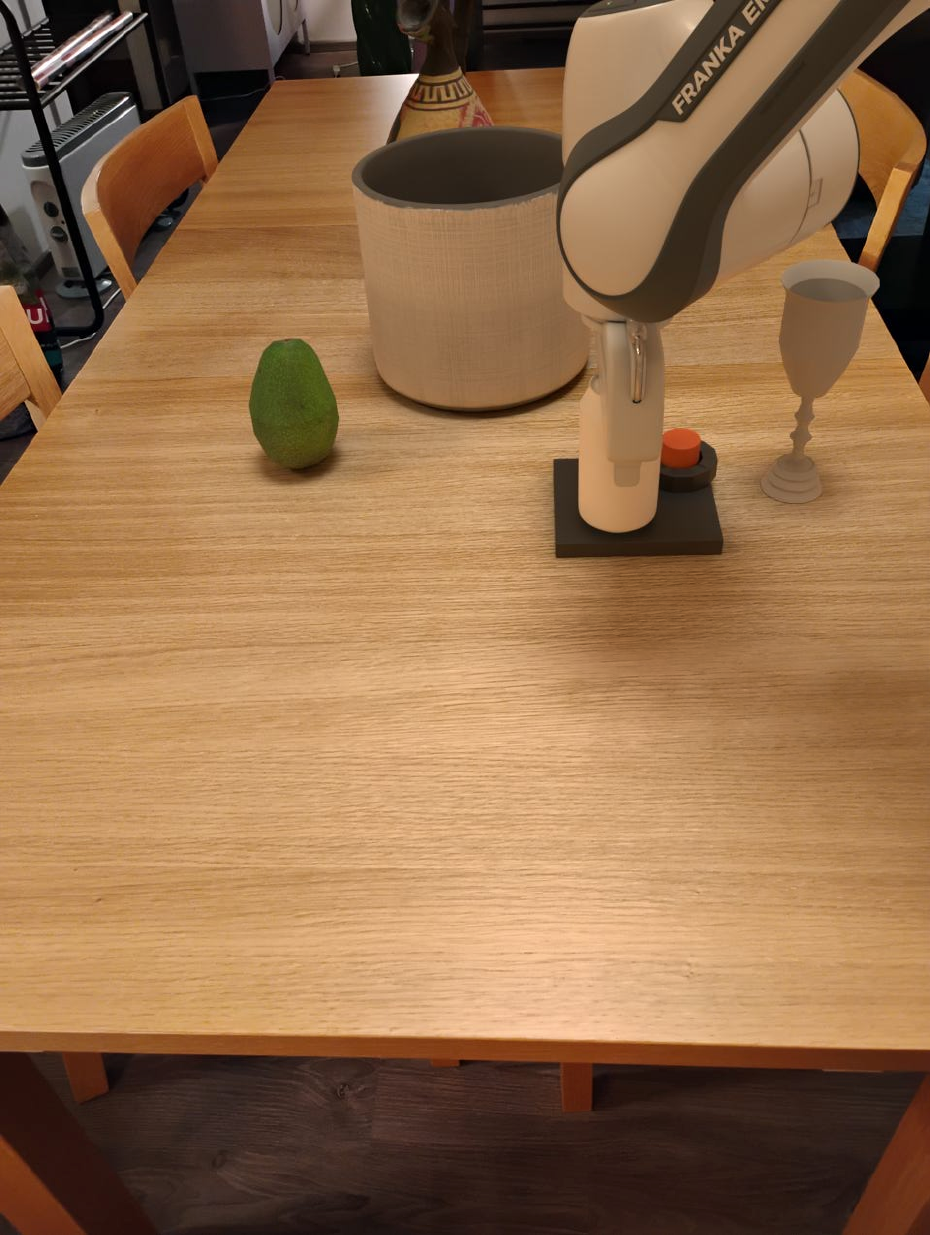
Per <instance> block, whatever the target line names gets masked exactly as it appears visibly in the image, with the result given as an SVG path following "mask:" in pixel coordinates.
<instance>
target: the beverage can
mask: <svg viewBox="0 0 930 1235" xmlns="http://www.w3.org/2000/svg"><path fill="white" fill-rule="evenodd" d="M665 405H666V404H664V408H666V406H665ZM578 409H579V410H578V413H579V414H578V415H579V416H578V418H579V419H578V422H579V423H578V458H579V512H580V515H581V517H582V518H583V519H584V520H585V521H586V522H587V523H588V524H590V525H591V526H593V527H595V528H598V529H601V530H603V531H607V532H612V533H623V532H628V531H632V530H636V529H639V528H641V527H643V526H645V525H646V524H648V523H649V522H650V521H651V520H652V519H653V517H654V516H655V513H656V508H657V498H658V486H659V473H660V460H661V453H660V455H659V457H658V459H657V460H655V461H651V462H642V463H641V466H640V478H639V483H638V484H637V485H636V486H633V487H618V486H616V485H615V483H614V474H613V466H614V462H611V461H609V460H608V459H607V456H606V451H605V442H604V432H603V421H602V410H601V400H600V389H599V379H598V372H596V373H595V374H593V375H592V376H591V377H590V379H589V381H588V387H587V389H586V390H585V392H584V394H583V395H582V397H581V399H580V401H579V408H578Z"/></svg>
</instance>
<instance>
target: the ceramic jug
mask: <svg viewBox="0 0 930 1235" xmlns="http://www.w3.org/2000/svg"><path fill="white" fill-rule="evenodd" d="M474 1H475V0H454V3H453V4H454V6H453V11H451V0H400V2H399V3H398V6H397V8H396V13H395V21H396V25H397V27H398V29H399V31H400V32H401V33H402V34H404V35H406V36H409V37H411V38H414V39H416V40H418V41H421V42H423V43H424V44H425V47H426V48H425V49H426V54H425V58H424V60H423V62H422V65H421V66H420V68H419V71H418V76H417V78H416V79H415V80H414V82H413V84H412V85H411V86H410V88H409V90H408V93H407V95H406V96H405V98H404V100H403V101H402V103H401V106H400V109H398V110H399V111H398V112H397V114H396V116H395V119H394V121H393V123H392V125H391V127H390V131H389V134H388V137H387V139H386V143H385V145H387V144H390V143H392V142H395V141H398V140H401V139H404V138H407V137H411V136H415V135H419V134H423V133H428V132H433V131H438V130H445V129H452V128H461V127H473V126H495V123H494V121H493V120H492V118H491V116H490V114H489V113H488V111H487V110H486V108H485V106H484V105H483V103H482V101H481V99H480V98H479V96H478V94H477V93H476V91H475V90H474V88H473V87H472V85H471V84H470V83H469V81H468V79H467V77H466V76H467V65H466V56H467V54H468V44H469V42H468V41H469V36H470V31H471V26H472V17H473V9H474Z"/></svg>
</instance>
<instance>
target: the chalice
mask: <svg viewBox="0 0 930 1235" xmlns="http://www.w3.org/2000/svg"><path fill="white" fill-rule="evenodd" d="M780 281H781V283H782V286H783V290H784V292H785V297H784V304H783V310H782V316H781V322H780V329H779V336H778V346H779V351H780V356H781V361H782V365H783V368H784V372H785V374H786V377H787V380H788V383H789V386H790V388H791V391H792V392H793V393H794V394H795V395H796V396H798V397H800V399H801V403H800V405H799V406H798V409H797V411H796V412H795V413H794V414H793V416H794V418H795V420H796V427H795V429H794V430H792V431H791V432H790V434H789V438H790V440H792V450H791V451H790V452H789V453H786V454H783V455H780V456H779V457H778V458H776V459H775V460H774V461H773V462H772V464H771V466H770V467H769V469H767V472H766V473H765V474H764V475H763V477H762V478H761V480H760V487H761V489H762V491H763V492H764V493H765V494H766V495H767V496H768V497H770V498H772V499H774V500H775V501H778V502H782V503H788V504H805V503H808V502H813V501H815V500H816V499H817V498H819V497H820V496H821V495H822V494H823V491H824V490H823V488H824V486H823V484H822V482H821V476H820V474H819V472H818V471H819V468H818V466H817V464H816V463H815V461H814V460H813V459H812V458H811V457H809V456H807V455H806V454H805V447H806V446H807V443H808V442H810V441H811V440H812V439H813V435H812V434H811V433H810V432H809V426H810V424H811V422H813V420H815V418H816V416H815V414H814V412H813V411H814V410H813V409H814V408H813V403H814V401H815V399H821V398H823V397H825V396H826V395H827V394H828V393H829V392H830V390H831V389H832V388H833V387H834V385H835V384H836V383H837V381H838V380H839V379H840V378H841V376H842V375H843V374H844V372H846V370H847V368H848V366H849V365H850V363H851V362H852V360H853V359H854V357H855V355H856V353H857V352H858V350H859V349H860V348H859V347H860V344H861V339H862V335H863V331H864V326H865V322H866V321H865V320H866V316H867V313H868V312H867V311H868V306H869V302H870V300H871V298H872V297H873V296H874V295H875V293H876V292H877V291H878V289H879V288H880V278H879V277H878V276H877V274H876V273H875V272H874V271H872V270H871V269H869V268H867V267H866V266H863V265H861V264H858V263H855V262H853V261H852V262H851V261H847V260H841V259H833V258H832V259H831V258H830V259H829V258H828V259H827V258H818V259H817V258H816V259H808V260H803V261H800V262H796V263H794V264H792V265H790V266H788V267H787V268H786V269H785V270H784V271H783V272H782V273H781V280H780Z"/></svg>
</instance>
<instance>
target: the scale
mask: <svg viewBox="0 0 930 1235" xmlns="http://www.w3.org/2000/svg"><path fill="white" fill-rule="evenodd" d="M718 462H719V460H718V456H717V451H716V449H715V448H714V447H713V446H711V445H710V444H709V443H707V441H705V440H702V439H701V444H700V453H699V461H698V463H697V464H696V465H695V466H693V467H690V468H680V469H676V468H672V467H669V466H665V465H663V464H662V463H661V461H660V473H659V486H658V498H657V508H656V513H655V516H654V517H653V519H652V520H651V521H650V522H649V523H648V524H646V525H645V526H643V527H641V528H639V529H636V530H632V531H628V532H623V533H612V532H607V531H603V530H601V529H598V528H595V527H593V526H591V525H590V524H588V523H587V522H586V521H585V520H584V519H583V518H582V517H581V515H580V512H579V457H577V458H576V457H575V458H574V457H573V458H553V459H552V463H553V464H552V466H553V467H552V469H553V474H552V475H553V477H552V478H553V506H554V507H553V510H554V511H553V512H554V544H555V545H554V550H555V551H554V552H555V554H554V555H555V558H588V557H589V558H592V557H595V558H596V557H637V556H638V557H639V556H641V557H642V556H685V555H686V556H687V555H688V556H690V555H696V556H697V555H722V554H723V550H724V542H725V539H724V536H723V531H722V527H721V522H720V519H719V518H720V517H719V512H718V509H717V505H716V501H715V500H716V499H715V496H714V492H713V487H712V482H713V480H714V479H715V478H716V476H717V470H718Z"/></svg>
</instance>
